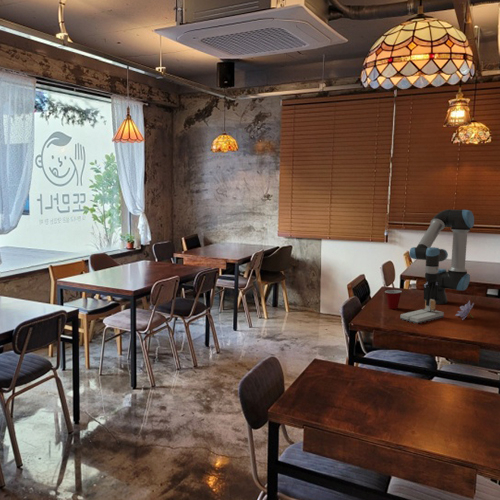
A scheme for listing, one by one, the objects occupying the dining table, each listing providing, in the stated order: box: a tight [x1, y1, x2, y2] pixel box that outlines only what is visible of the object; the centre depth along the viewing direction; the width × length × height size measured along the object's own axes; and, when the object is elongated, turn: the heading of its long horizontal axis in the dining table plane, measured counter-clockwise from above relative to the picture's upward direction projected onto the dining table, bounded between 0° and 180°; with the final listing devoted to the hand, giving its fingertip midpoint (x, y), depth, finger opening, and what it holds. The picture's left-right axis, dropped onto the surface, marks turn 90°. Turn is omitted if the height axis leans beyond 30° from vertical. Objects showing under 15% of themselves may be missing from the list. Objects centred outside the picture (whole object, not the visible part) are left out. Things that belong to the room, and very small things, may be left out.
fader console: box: [399, 307, 445, 325], centre depth 278 cm, size 12×26×3 cm, turn 124°
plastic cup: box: [384, 289, 402, 310], centre depth 302 cm, size 11×11×12 cm
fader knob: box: [424, 300, 436, 312], centre depth 282 cm, size 5×3×9 cm, turn 34°
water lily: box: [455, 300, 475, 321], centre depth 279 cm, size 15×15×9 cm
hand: (430, 310), depth 282 cm, fingers closed on fader knob, 3 cm apart
